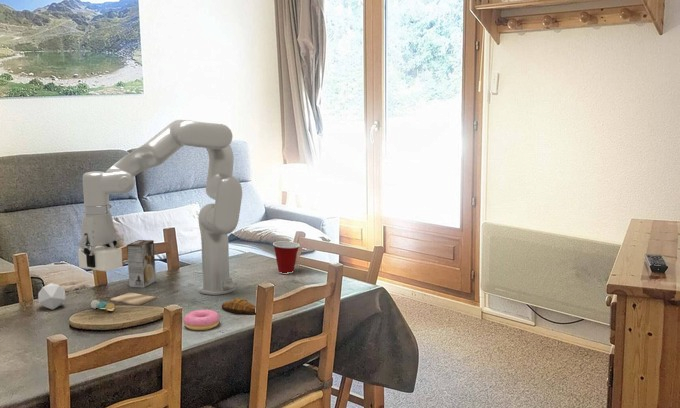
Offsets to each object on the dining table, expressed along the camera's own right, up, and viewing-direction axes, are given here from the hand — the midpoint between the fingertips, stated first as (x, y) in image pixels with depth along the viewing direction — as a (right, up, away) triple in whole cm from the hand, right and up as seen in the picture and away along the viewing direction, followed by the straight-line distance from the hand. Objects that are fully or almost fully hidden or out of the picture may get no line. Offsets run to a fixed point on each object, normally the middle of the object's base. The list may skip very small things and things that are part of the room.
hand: (100, 263), depth 215 cm
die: (-18, -15, +6) cm, 24 cm away
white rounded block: (0, -1, 0) cm, 1 cm away
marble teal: (0, -15, +2) cm, 16 cm away
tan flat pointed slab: (+6, -14, +14) cm, 21 cm away
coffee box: (+4, -11, +33) cm, 35 cm away
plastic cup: (+56, -8, +49) cm, 75 cm away
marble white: (-3, -15, +4) cm, 16 cm away
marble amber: (+3, -16, +1) cm, 16 cm away
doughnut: (+36, -18, -13) cm, 42 cm away
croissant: (+45, -16, +1) cm, 48 cm away
